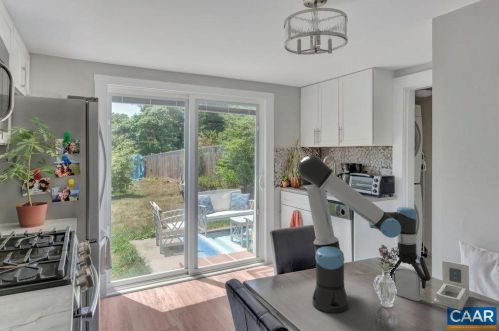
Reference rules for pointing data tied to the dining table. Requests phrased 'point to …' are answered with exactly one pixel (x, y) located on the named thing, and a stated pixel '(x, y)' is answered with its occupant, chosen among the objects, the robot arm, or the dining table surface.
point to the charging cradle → (453, 285)
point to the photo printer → (407, 284)
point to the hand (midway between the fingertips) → (407, 291)
